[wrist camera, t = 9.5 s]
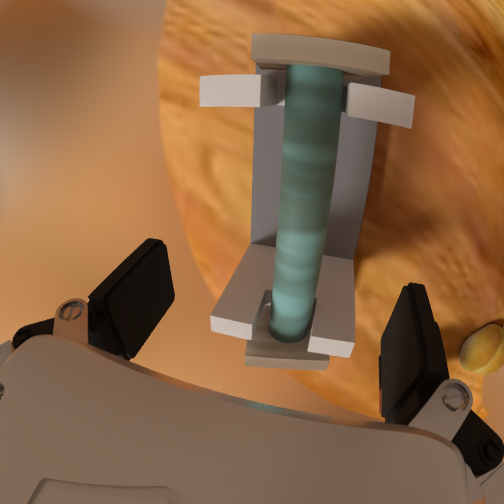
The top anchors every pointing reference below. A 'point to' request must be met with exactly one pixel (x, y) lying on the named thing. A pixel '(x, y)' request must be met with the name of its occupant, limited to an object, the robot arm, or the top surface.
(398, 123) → the stand
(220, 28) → the top surface
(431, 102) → the top surface
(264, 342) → the dowel bar
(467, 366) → the bread roll
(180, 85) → the top surface
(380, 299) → the top surface
